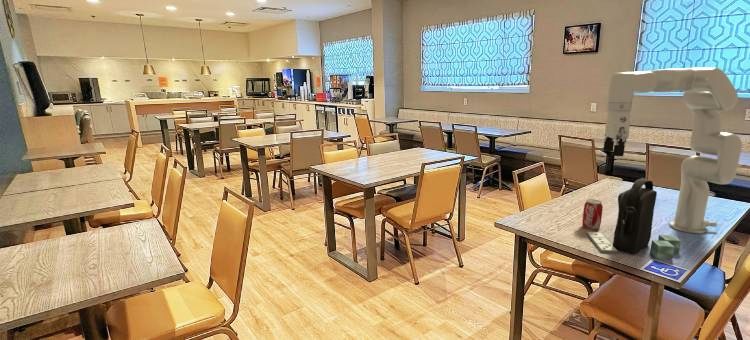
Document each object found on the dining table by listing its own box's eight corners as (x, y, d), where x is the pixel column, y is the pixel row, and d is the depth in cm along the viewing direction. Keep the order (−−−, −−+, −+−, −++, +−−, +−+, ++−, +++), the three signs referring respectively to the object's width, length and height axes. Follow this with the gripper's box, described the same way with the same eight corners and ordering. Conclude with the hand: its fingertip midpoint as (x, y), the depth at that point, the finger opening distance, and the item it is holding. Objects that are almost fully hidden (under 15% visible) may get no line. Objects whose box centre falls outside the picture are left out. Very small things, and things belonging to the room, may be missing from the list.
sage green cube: (665, 253, 142) (667, 241, 141) (672, 259, 137) (674, 246, 136) (649, 252, 143) (651, 240, 142) (656, 258, 138) (658, 245, 137)
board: (600, 234, 159) (600, 232, 159) (617, 253, 142) (618, 250, 142) (585, 233, 160) (586, 231, 160) (601, 252, 143) (601, 249, 143)
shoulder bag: (632, 261, 137) (644, 186, 130) (605, 253, 144) (614, 181, 137) (653, 244, 150) (665, 175, 144) (627, 237, 157) (637, 171, 151)
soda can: (602, 231, 163) (606, 204, 160) (584, 229, 164) (587, 203, 161) (596, 224, 170) (600, 199, 167) (579, 223, 171) (582, 198, 168)
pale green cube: (671, 247, 146) (673, 235, 145) (678, 253, 142) (681, 240, 140) (657, 246, 147) (659, 234, 146) (663, 252, 143) (665, 239, 141)
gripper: (641, 109, 130) (634, 158, 134) (620, 105, 146) (614, 149, 150) (617, 109, 131) (610, 157, 135) (599, 105, 148) (594, 149, 152)
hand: (612, 153), depth 143 cm, fingers open, 9 cm apart
